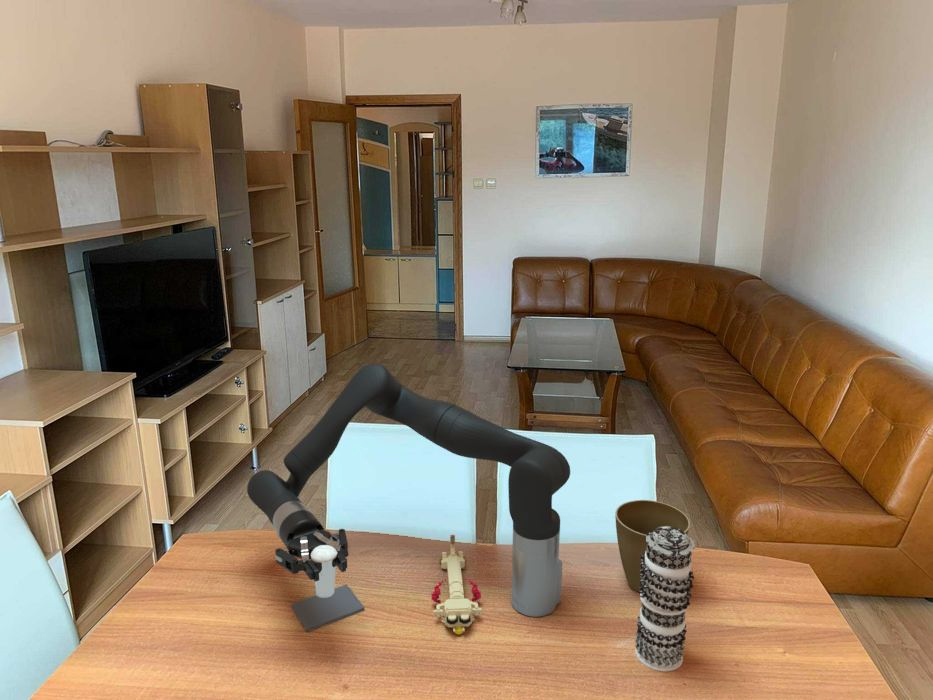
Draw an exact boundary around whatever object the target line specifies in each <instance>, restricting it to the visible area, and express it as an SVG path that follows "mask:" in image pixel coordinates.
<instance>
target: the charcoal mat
mask: <svg viewBox="0 0 933 700" xmlns="http://www.w3.org/2000/svg"><path fill="white" fill-rule="evenodd" d="M290 607H291V609H292V610H293V612H294V614H295V615H296V617H297V619H298V620H299V622H300V623H301V626H302V627H303V628H304V629H305V632H306V633H308V632H310V631H313V630H316V629H318V628H319V629H320V628H321V627H325V626H326V625H329V624H332V623H335V622H337V621H340V620H342V619H345V618H348V617H350V616H353V615H355V614H357V613H360V612H364V611H365V606H364V605H363V604H362V602H361V601H360V600H359V599H358V597H357V596H356V595H355V593H354V592H353V591H352V589H351V588H350V587H349V585H348V584H343V585H341V586H337V587H335V588H334V594H333V595H332V596H330V597H328V598H320V597H318V596H317V595H316V594H315V595H312V596H309V597H306V598H304V599H301V600H299V601H296V602H293V603H291V604H290Z"/></svg>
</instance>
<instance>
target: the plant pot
mask: <svg viewBox="0 0 933 700" xmlns="http://www.w3.org/2000/svg"><path fill="white" fill-rule="evenodd" d="M614 513H615V516H614V517H615V528H616V529H615V531H616V538H617V545H618V551H619V556H620V557H619V558H620V560H621V565H622V569H623V573H624V575H625V579H626V581H627V584H628V586H629V587H630V588H631V589H632V590H634V591H636V592H637V593H640V591H641V590H640V586H641V585H640V580H641V577H640V574H641V572H640V569H641V567H640V564H641V562H642V561H641V556H643V553H644V552H645V551H646V549H647V542H646V536H647V535H648V534H649V533H650V532H652V531H654V530H655V529H657V528H659V527H664V526H669V527H675V528H678V529H680V530H682V531H684V532H685V533H686V534H687V535H688V533H689V531H690V527H691V521H690V518H688V516H687V514H685V513H684V512H683V511H681V510H680V509H679V508H677V507H675V506H672V505H671V504H668V503H665V502H661V501H657V500H652V499H651V500H650V499H638V500H629V501H626V502H623V503H622V504H620V505H618V507H616V510H615V512H614Z"/></svg>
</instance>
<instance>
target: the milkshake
mask: <svg viewBox="0 0 933 700" xmlns="http://www.w3.org/2000/svg"><path fill="white" fill-rule="evenodd" d="M340 546H341V545H339V546H338V547H339V548H340ZM338 551H339V549H338ZM337 553H338V552H337V551H336V549H335V548H333V547H332V546H329V545H320V546H318V547H316V548H314V549H313V551H312V553H311V559H310V560H311V561H312V563H313V564H314V565H315V566H316V568H317V569H318V571H319V581H316V582H315V581H314V587H315V595H317V596H318V597H320V598H328V597H330V596H332V595H333V594H334V589H335V588H336V587H335V586H336V585H335V584H336V583H335V582H336V568H337V566H336V558H337Z"/></svg>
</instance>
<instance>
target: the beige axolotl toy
mask: <svg viewBox="0 0 933 700" xmlns="http://www.w3.org/2000/svg"><path fill="white" fill-rule="evenodd" d="M455 535H456V534H450V537H449V538H450V539H449V541H450V554H449V555H447V551H442V553H441V554H442V556H440V557H439V564H440V565H441V568H442V569H443V570H447V571H446V572H447V578H445V579H444V580H441V581H439V582H438V584H435V585H434V588H433V589H434V591H432V592H431V601H432V602H434V603H436V609H433V616H434V617H436V618H440V619H441V623H442V624H444V626H446V627H448V628H452V630H453V633H455V634H456V635H462V634H464V632H466V631H465V628H466V627H469V626H471V625H472V624H473V623H472V622H475V618H474V617H475V616H479V615H482V611H483V609H482V607H479V603H478V602H477V601H478V600H481V598H482V593H481V590H479V588H478V586H479V585H478V584H477V583H476V582H475V583H474V580H471V579H470V578H469V579H468V577H467V578H465V581H468V582H469V585H471V586H472V587H471V593H472V598H471V600H470V599H469V598H465V594H464V586H463V584H464V583H463V575H462V570H461V569H465V567H466V561H467V560H466V556H465V555H464V553H463V551H462V550H461V551H457V552H458V555H457V554H456V537H455ZM447 579H448V580H447ZM447 581H448V592H449V594H448V595H449V598H448V599H446V600H445V601H443V602H441V601H442V600H441V599H440V596H441V588H440V587H442V586H443V583H444V582H447ZM441 616H442V617H441Z"/></svg>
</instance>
